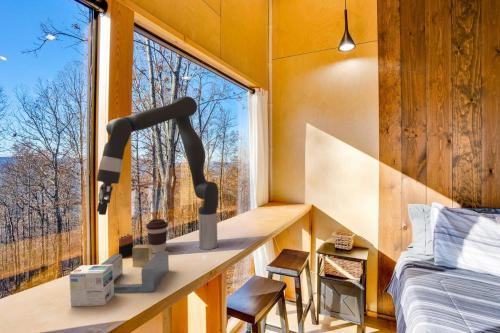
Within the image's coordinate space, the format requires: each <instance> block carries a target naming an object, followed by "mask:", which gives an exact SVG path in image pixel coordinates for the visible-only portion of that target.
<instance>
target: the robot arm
mask: <svg viewBox="0 0 500 333" xmlns="http://www.w3.org/2000/svg"><path fill="white" fill-rule="evenodd" d="M197 110H198V104H197V102H196V100H195V99H194V98H193V97H191V96H188V95H187V96H184V95H183V96H180V97H178V98H175V99H173V100H172V102H171V103H169V104H167V105H162V106H157V107H154V108H150V109H146V110H142V111H138V112H136V113H132V114H130V115H127V116H123V117H118V118H114V119H111V120H109V121H108V123H106V129H105V130H106V133H107V134H108V135H109V139H108V140H107V142H105V144H104V148H103V151H102V156H101V159H100V162H99V167H98V171H97V174H96V181H97V182H101V183H102V184H101V185H100V187H99V193H98V204H97V207H96V208H97V209H96V211H97V212H98V214H99V215H100V216H105V215H107V210H108V205H109V204H110V203H111V198H112V193H113V190H114V189H113V188H114V187H113V186H112V184H119V183H120V178H121V174H122V169H123V161H124V155H125V149H126V147H127V145H128V143H129V140H130V137H131V135H132V133H134V132H138V131H142V130H146V129H149V128H151V127H155V126H157V125H160V124H162V123H165V122H168V121H170V120H174V121H175V123H176V126H177V129H178V133H179V134H180V138H181V142H182V144H183V148H184V154H185V156H186V160H187V163H188V166H189V171H190V175H191V179H192V186H193V191H194V195H195V196H196V197H197V198H198V199H200V200H203V204H202V205H201V206H199V207H198V241H199V242H198V246H199V249H201V250H213V249H215V248H217V247H218V212H217V211H218V207H219V187H218V184H217V183H216V182H214V181H207V179H206V177H205V172H204V168H205V162H206V151H205V147H204V143H203V141H202V139H201V137H200V136H199V134H198V133H197V131H196V130H195V129H194V127H193V126H192V122H191V119H190V117H192V116H194V115H196V112H197Z"/></svg>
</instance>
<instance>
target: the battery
mask: <svg viewBox="0 0 500 333" xmlns="http://www.w3.org/2000/svg"><path fill="white" fill-rule="evenodd" d="M133 247H134V237H133V234H127V236H124V237H122V236H121V238H119V254H122V257H123V258H125V256H126V257H128V255H129V256H132V248H133Z"/></svg>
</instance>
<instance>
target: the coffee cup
mask: <svg viewBox="0 0 500 333" xmlns="http://www.w3.org/2000/svg"><path fill="white" fill-rule="evenodd" d="M168 226H169V224H168V221H165V220H164V219H161V218H157V219H156V218H155V219H151V220H149V222H148V223H147V224H146V229H147V239H148V241H147V242H148V245H152V252H153V254H156V253H157V252H158V251H167V250H166V248H167V236H168V234H167V233H168V229H167V228H168Z"/></svg>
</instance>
